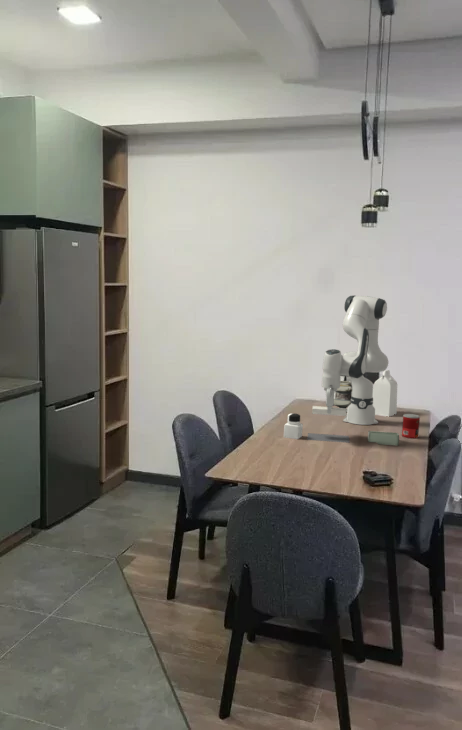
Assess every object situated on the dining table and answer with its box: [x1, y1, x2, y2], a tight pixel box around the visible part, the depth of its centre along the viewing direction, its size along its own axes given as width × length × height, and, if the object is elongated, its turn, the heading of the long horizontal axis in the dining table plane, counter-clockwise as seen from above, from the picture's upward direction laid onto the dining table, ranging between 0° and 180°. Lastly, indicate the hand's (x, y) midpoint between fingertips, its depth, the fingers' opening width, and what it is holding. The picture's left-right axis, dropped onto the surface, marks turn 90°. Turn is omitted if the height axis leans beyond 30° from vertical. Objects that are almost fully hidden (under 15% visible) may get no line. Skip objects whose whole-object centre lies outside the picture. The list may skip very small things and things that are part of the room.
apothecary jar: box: [334, 381, 352, 414], centre depth 378 cm, size 12×12×18 cm
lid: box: [311, 405, 347, 417], centre depth 308 cm, size 6×16×4 cm, turn 81°
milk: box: [372, 369, 398, 418], centre depth 375 cm, size 12×12×26 cm
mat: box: [307, 432, 351, 444], centre depth 309 cm, size 14×20×1 cm
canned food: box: [401, 413, 421, 439], centre depth 320 cm, size 8×8×11 cm
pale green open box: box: [367, 430, 400, 446], centre depth 305 cm, size 5×14×5 cm, turn 82°
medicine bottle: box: [283, 413, 304, 440], centre depth 307 cm, size 7×7×12 cm
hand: (329, 411), depth 308 cm, fingers closed on lid, 6 cm apart
